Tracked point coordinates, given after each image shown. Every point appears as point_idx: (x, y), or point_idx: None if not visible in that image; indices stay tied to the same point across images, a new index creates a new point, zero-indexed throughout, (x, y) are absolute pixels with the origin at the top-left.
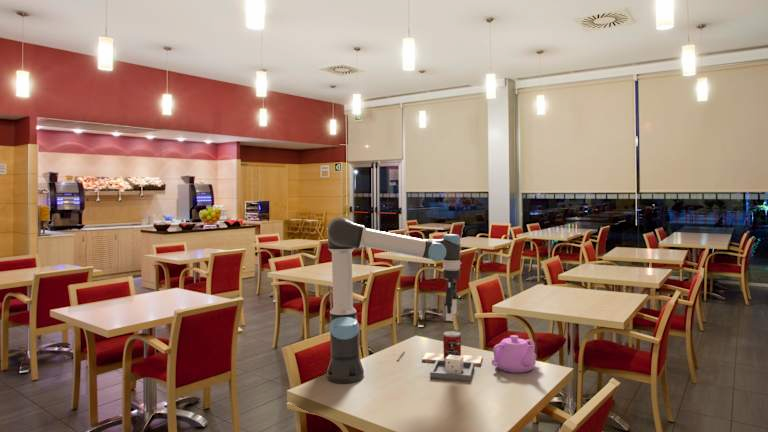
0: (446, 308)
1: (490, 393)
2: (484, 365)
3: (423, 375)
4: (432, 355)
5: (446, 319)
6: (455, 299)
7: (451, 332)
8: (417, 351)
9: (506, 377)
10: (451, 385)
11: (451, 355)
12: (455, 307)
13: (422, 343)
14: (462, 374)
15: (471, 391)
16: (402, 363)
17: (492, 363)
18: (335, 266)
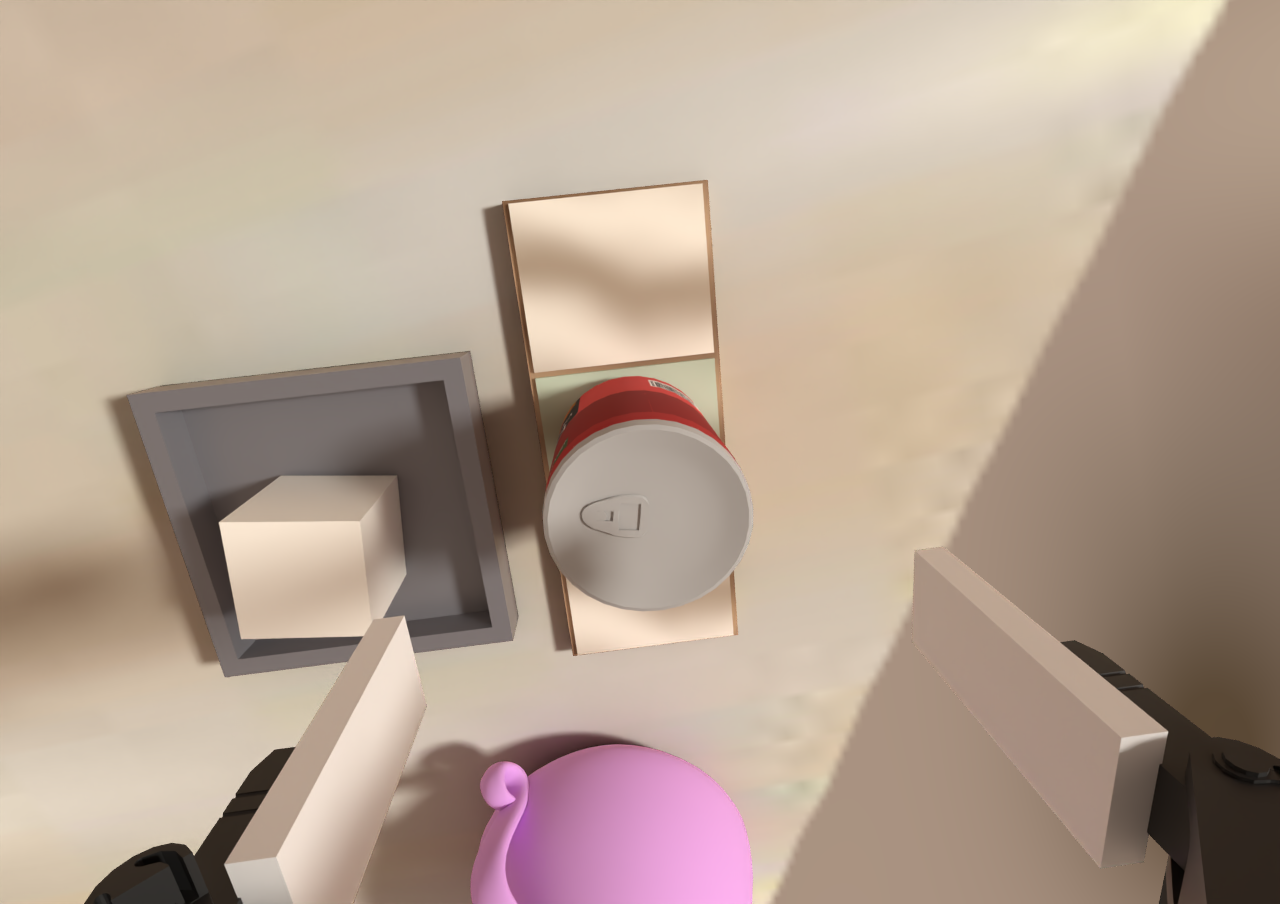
0: (269, 803)
1: (124, 786)
2: (599, 664)
3: (197, 315)
4: (637, 265)
5: (367, 638)
6: (1103, 851)
7: (715, 495)
8: (783, 62)
9: (429, 812)
10: (116, 560)
11: (337, 545)
12: (975, 701)
13: (1046, 34)
14: (215, 628)
15: (90, 691)
16: (394, 25)
17: (484, 773)
18: None
